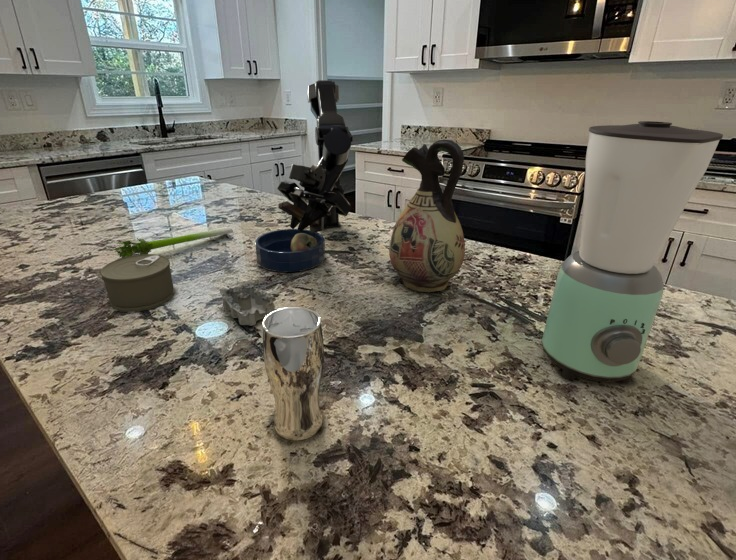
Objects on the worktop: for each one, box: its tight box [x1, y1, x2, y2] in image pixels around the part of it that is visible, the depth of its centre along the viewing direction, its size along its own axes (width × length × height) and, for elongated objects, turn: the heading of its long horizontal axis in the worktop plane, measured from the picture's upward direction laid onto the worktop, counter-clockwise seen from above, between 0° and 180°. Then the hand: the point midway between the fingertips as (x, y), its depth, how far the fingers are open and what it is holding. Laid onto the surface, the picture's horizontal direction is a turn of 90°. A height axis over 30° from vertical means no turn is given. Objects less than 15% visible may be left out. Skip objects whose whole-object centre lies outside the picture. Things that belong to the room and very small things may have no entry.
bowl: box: [254, 228, 326, 273], centre depth 100 cm, size 16×16×5 cm
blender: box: [541, 120, 724, 384], centre depth 58 cm, size 19×13×35 cm
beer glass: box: [261, 306, 325, 441], centre depth 50 cm, size 7×7×15 cm
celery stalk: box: [112, 226, 234, 258], centre depth 106 cm, size 6×7×30 cm
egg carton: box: [219, 283, 277, 327], centre depth 77 cm, size 11×8×4 cm
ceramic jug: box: [388, 139, 466, 293], centre depth 82 cm, size 17×15×30 cm
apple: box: [291, 233, 317, 252], centre depth 97 cm, size 6×8×6 cm
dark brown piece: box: [277, 200, 325, 233], centre depth 94 cm, size 3×3×13 cm
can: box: [100, 253, 175, 313], centre depth 81 cm, size 12×12×7 cm
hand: (295, 229), depth 93 cm, fingers closed on dark brown piece, 2 cm apart
